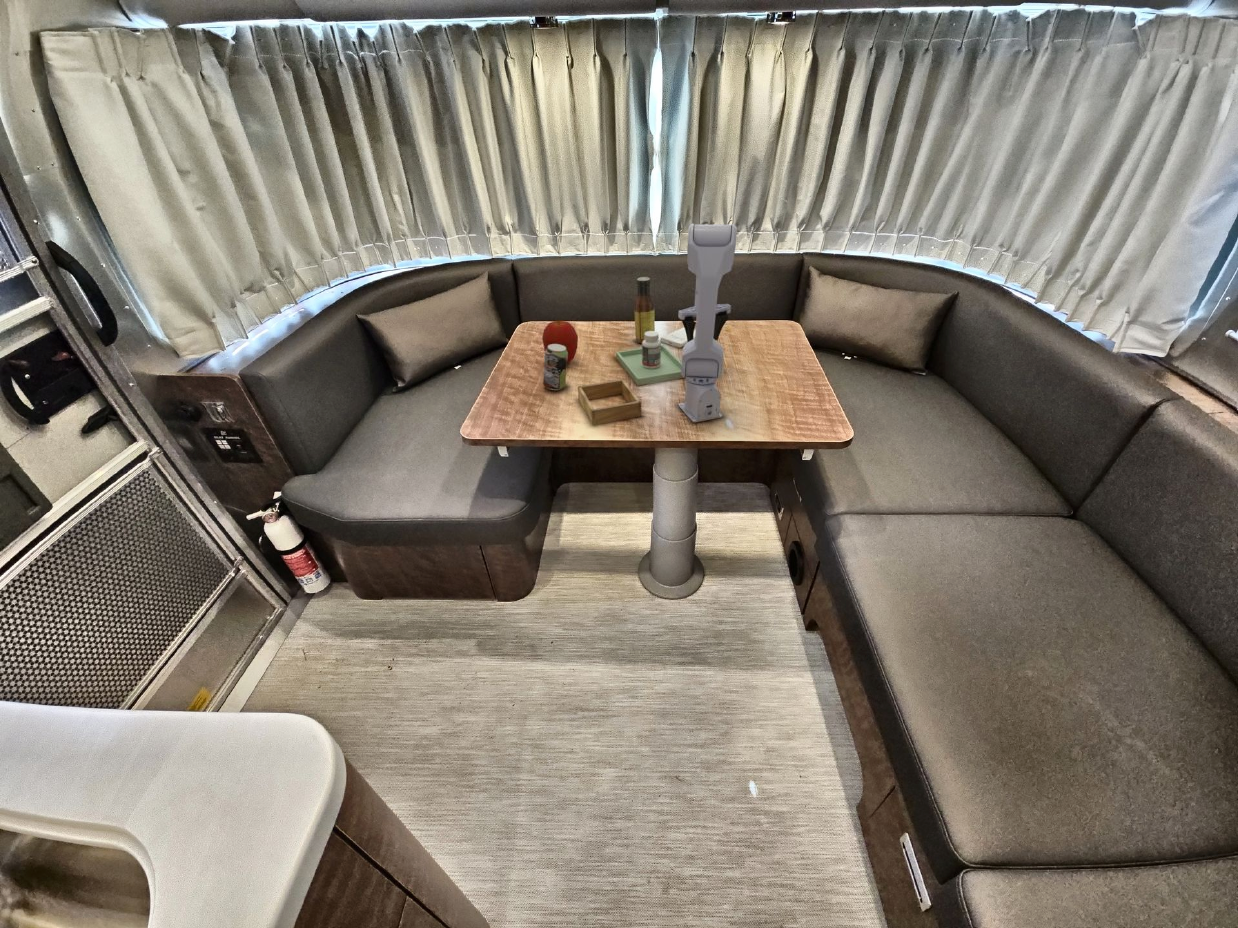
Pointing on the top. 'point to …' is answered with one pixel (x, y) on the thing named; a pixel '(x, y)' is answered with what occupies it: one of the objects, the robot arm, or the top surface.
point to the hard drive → (676, 338)
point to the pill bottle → (651, 350)
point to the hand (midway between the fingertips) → (702, 340)
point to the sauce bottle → (643, 310)
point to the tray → (642, 375)
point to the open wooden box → (609, 412)
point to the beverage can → (555, 366)
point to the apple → (561, 337)
